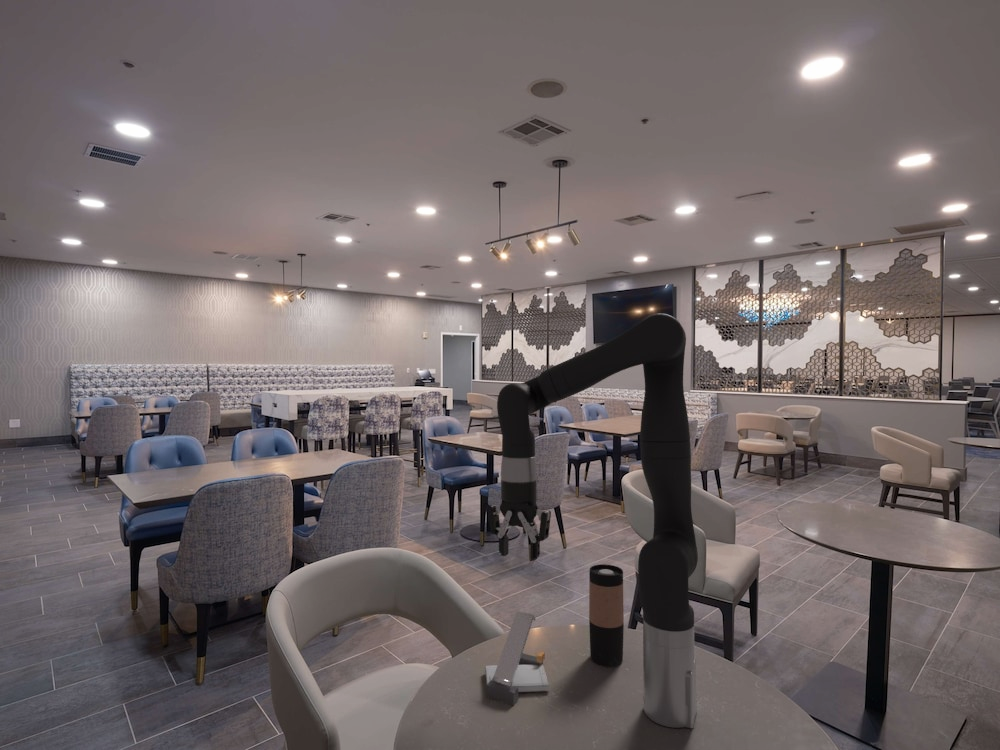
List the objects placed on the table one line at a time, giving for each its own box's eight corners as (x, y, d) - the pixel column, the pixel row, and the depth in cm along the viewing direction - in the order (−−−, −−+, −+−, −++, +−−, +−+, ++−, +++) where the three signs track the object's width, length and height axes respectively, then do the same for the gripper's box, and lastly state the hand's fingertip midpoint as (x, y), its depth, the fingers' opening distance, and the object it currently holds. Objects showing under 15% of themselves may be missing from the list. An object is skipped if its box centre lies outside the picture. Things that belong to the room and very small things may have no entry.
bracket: (544, 670, 115) (544, 652, 115) (515, 706, 102) (515, 686, 102) (516, 662, 118) (516, 645, 118) (484, 696, 105) (484, 677, 105)
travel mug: (583, 653, 122) (583, 566, 123) (613, 648, 124) (612, 562, 125) (599, 670, 115) (599, 577, 115) (630, 664, 117) (629, 573, 118)
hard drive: (487, 686, 106) (548, 683, 106) (485, 664, 114) (542, 662, 115) (487, 694, 106) (549, 692, 106) (485, 672, 114) (542, 670, 115)
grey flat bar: (535, 619, 114) (533, 614, 113) (512, 690, 104) (509, 685, 103) (518, 615, 116) (516, 610, 115) (494, 685, 106) (491, 680, 105)
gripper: (556, 477, 112) (557, 557, 112) (496, 472, 119) (497, 547, 118) (543, 483, 106) (543, 568, 105) (480, 477, 112) (480, 557, 112)
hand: (519, 557), depth 112 cm, fingers open, 6 cm apart
